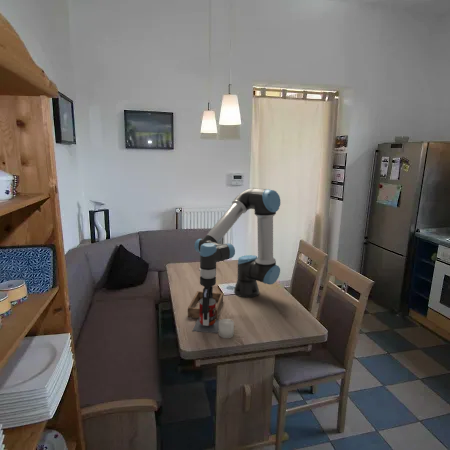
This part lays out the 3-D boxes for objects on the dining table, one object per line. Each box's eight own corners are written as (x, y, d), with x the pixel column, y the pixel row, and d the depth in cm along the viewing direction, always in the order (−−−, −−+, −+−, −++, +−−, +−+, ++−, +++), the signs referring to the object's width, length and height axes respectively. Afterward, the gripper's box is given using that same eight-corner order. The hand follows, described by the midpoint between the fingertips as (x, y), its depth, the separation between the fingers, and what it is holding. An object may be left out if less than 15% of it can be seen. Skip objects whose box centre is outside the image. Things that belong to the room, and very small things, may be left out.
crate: (222, 301, 182) (223, 293, 181) (216, 319, 161) (216, 310, 160) (197, 299, 184) (197, 291, 183) (187, 317, 163) (187, 308, 162)
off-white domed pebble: (234, 331, 150) (234, 319, 149) (232, 338, 144) (233, 326, 142) (219, 329, 151) (220, 318, 150) (217, 337, 144) (217, 325, 143)
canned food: (209, 327, 149) (209, 305, 147) (196, 323, 153) (196, 301, 151) (218, 321, 155) (218, 300, 153) (205, 316, 160) (205, 296, 157)
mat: (221, 320, 160) (221, 320, 160) (217, 333, 148) (217, 332, 148) (198, 318, 161) (198, 318, 161) (192, 331, 149) (192, 330, 149)
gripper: (204, 268, 160) (204, 310, 165) (195, 283, 140) (195, 331, 145) (219, 269, 159) (218, 311, 164) (212, 284, 139) (211, 332, 144)
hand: (207, 320), depth 154 cm, fingers closed on canned food, 8 cm apart
